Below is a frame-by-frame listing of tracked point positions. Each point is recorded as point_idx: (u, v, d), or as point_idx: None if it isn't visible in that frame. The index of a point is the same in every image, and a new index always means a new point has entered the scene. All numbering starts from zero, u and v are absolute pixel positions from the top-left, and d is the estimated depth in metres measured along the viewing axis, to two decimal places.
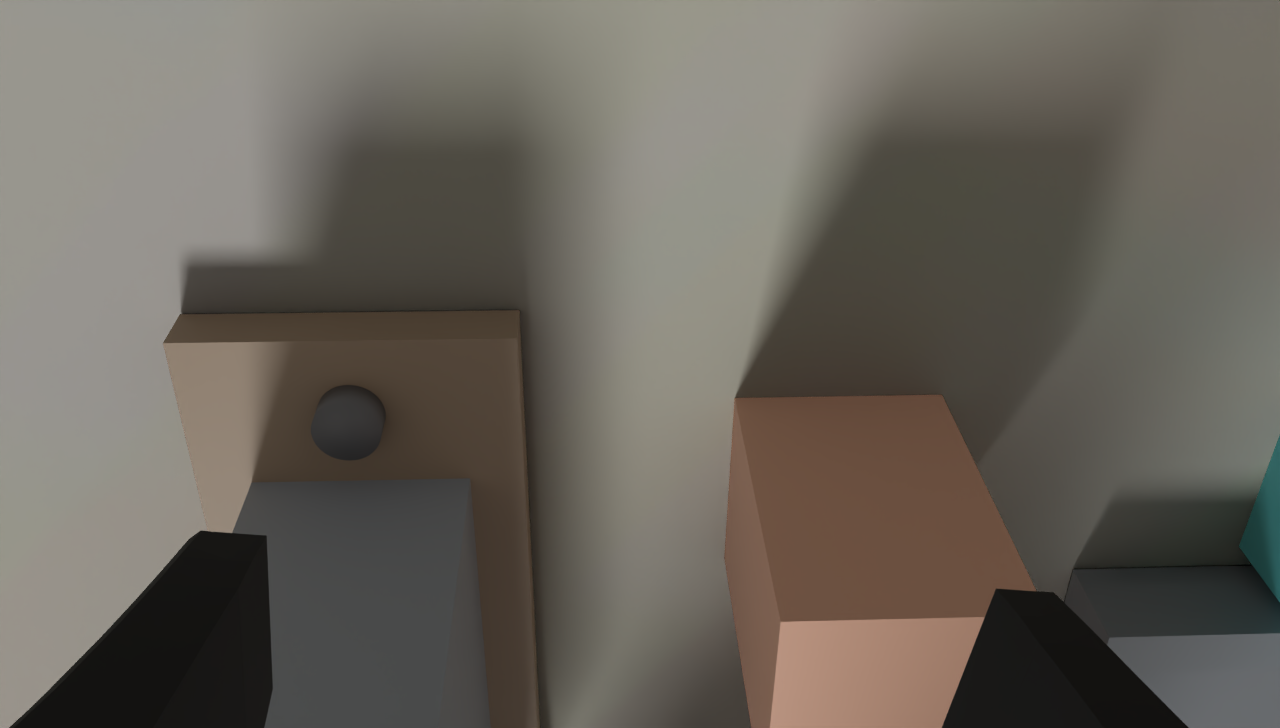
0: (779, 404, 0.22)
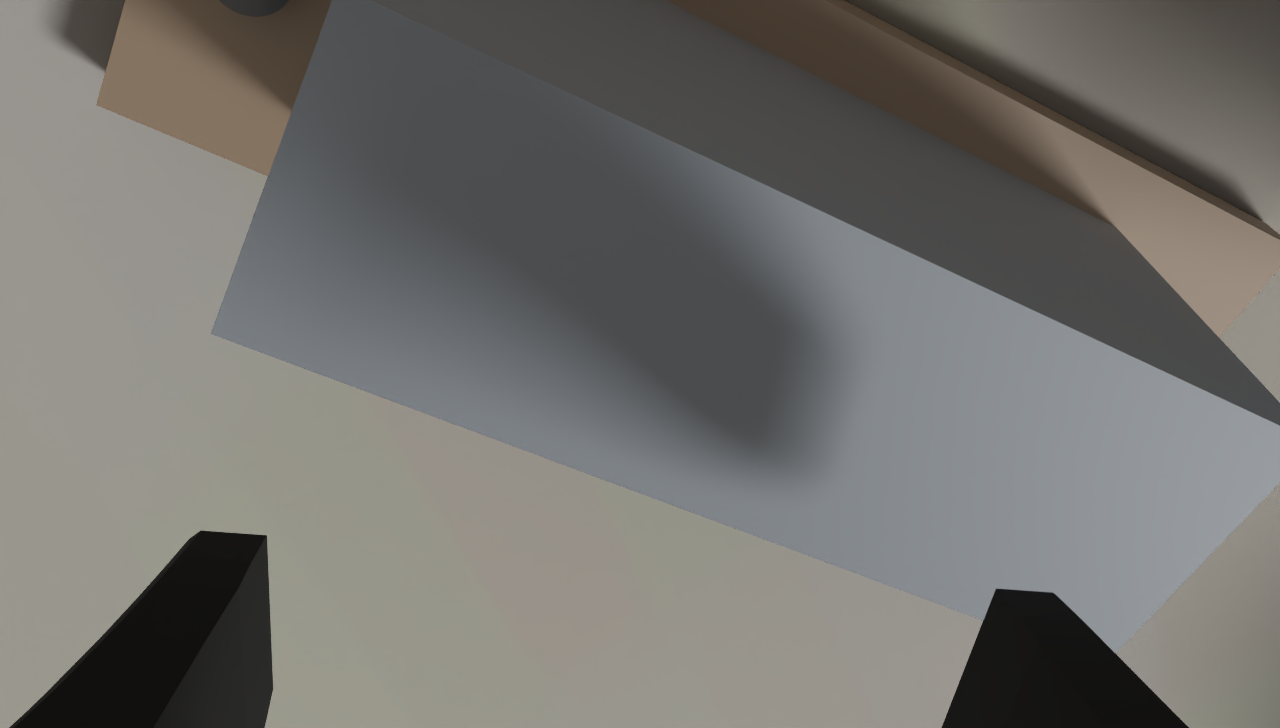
0: None
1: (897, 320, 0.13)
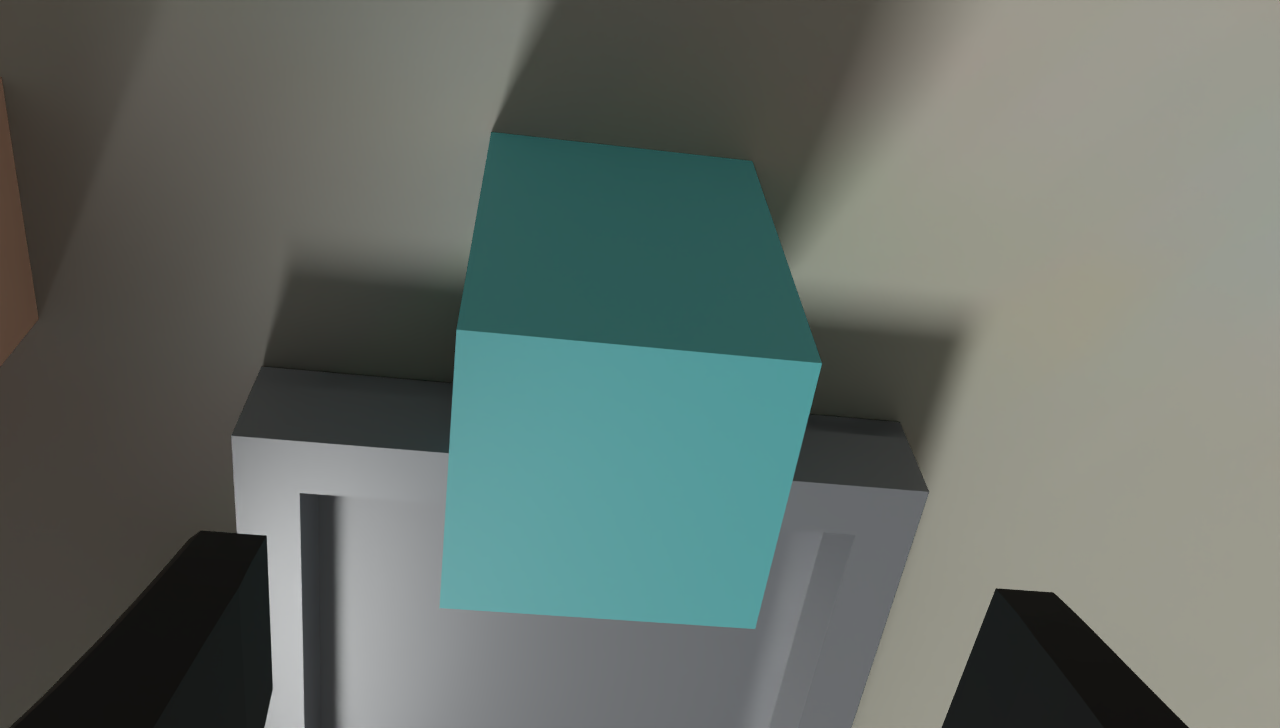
0: None
1: None
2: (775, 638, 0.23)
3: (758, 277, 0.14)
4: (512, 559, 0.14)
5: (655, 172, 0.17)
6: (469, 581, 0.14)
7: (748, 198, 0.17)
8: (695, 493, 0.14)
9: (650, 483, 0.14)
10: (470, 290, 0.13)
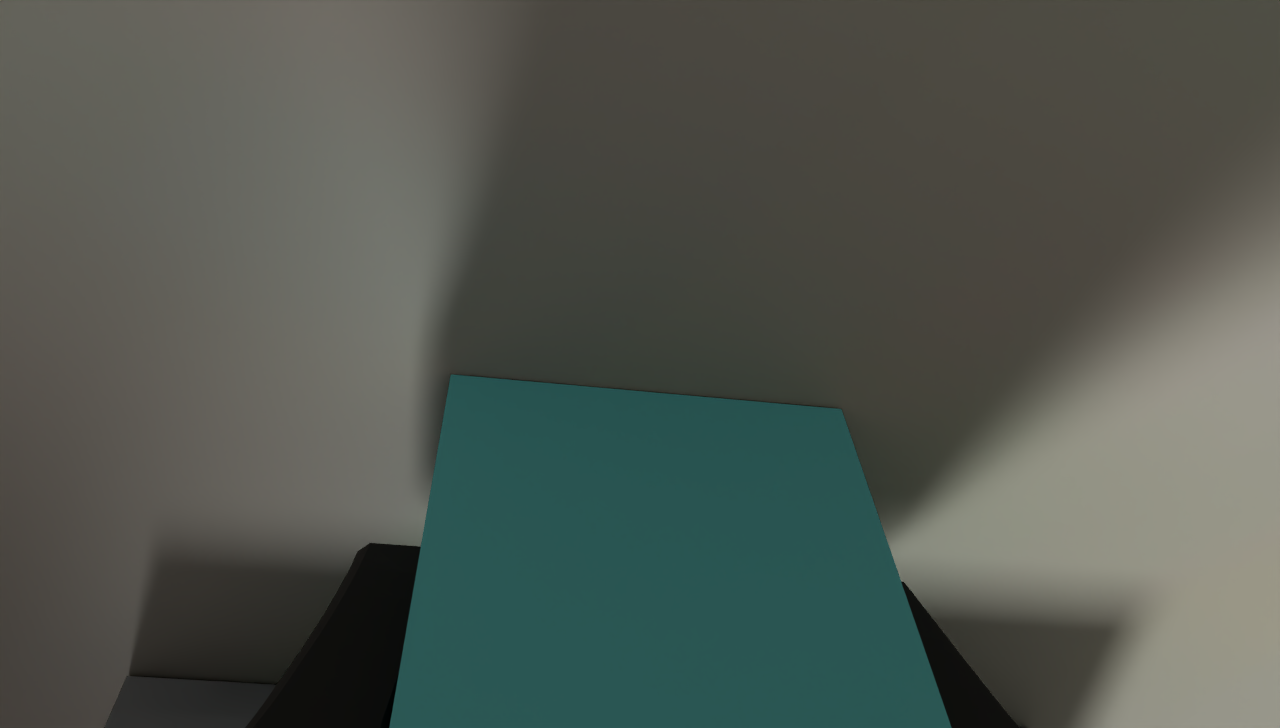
0: None
1: None
2: None
3: (887, 708, 0.09)
4: None
5: (700, 449, 0.11)
6: None
7: (846, 499, 0.11)
8: None
9: None
10: None
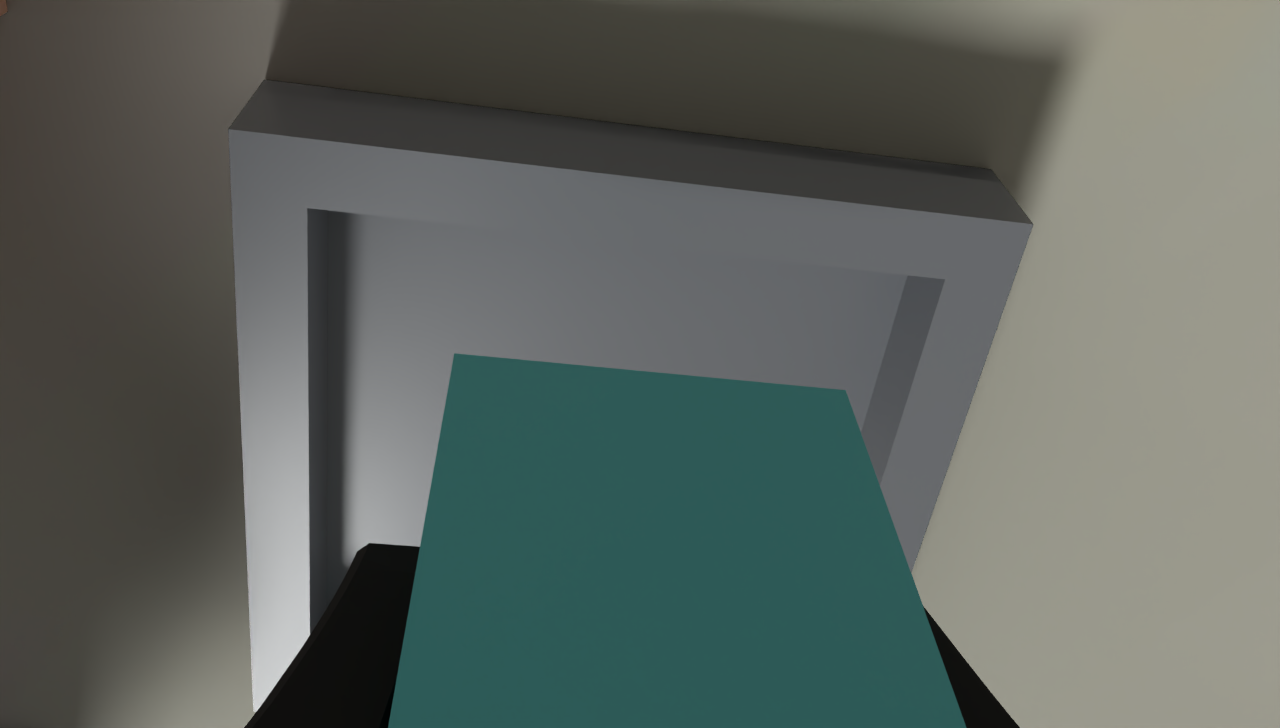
0: None
1: None
2: None
3: (894, 682, 0.09)
4: None
5: (704, 428, 0.11)
6: None
7: (851, 478, 0.11)
8: None
9: None
10: None
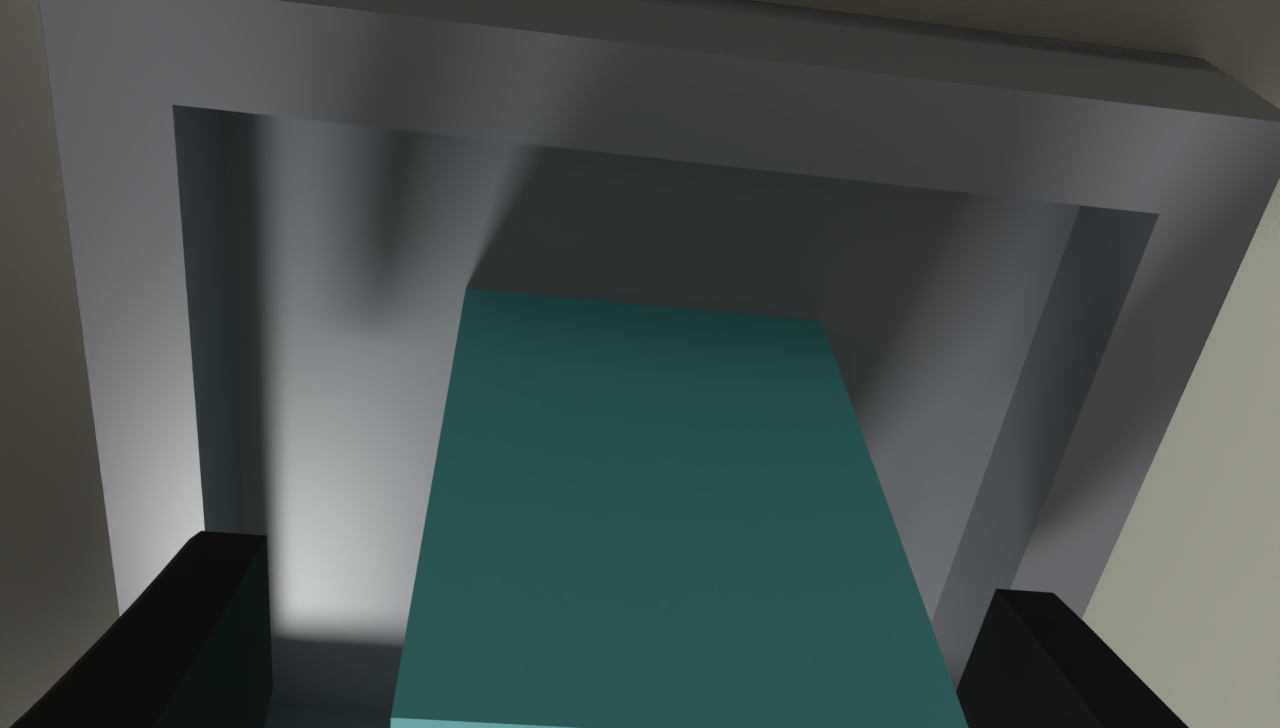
0: None
1: None
2: (963, 450, 0.14)
3: (856, 555, 0.10)
4: None
5: (692, 351, 0.12)
6: None
7: (824, 393, 0.12)
8: None
9: None
10: (419, 619, 0.08)
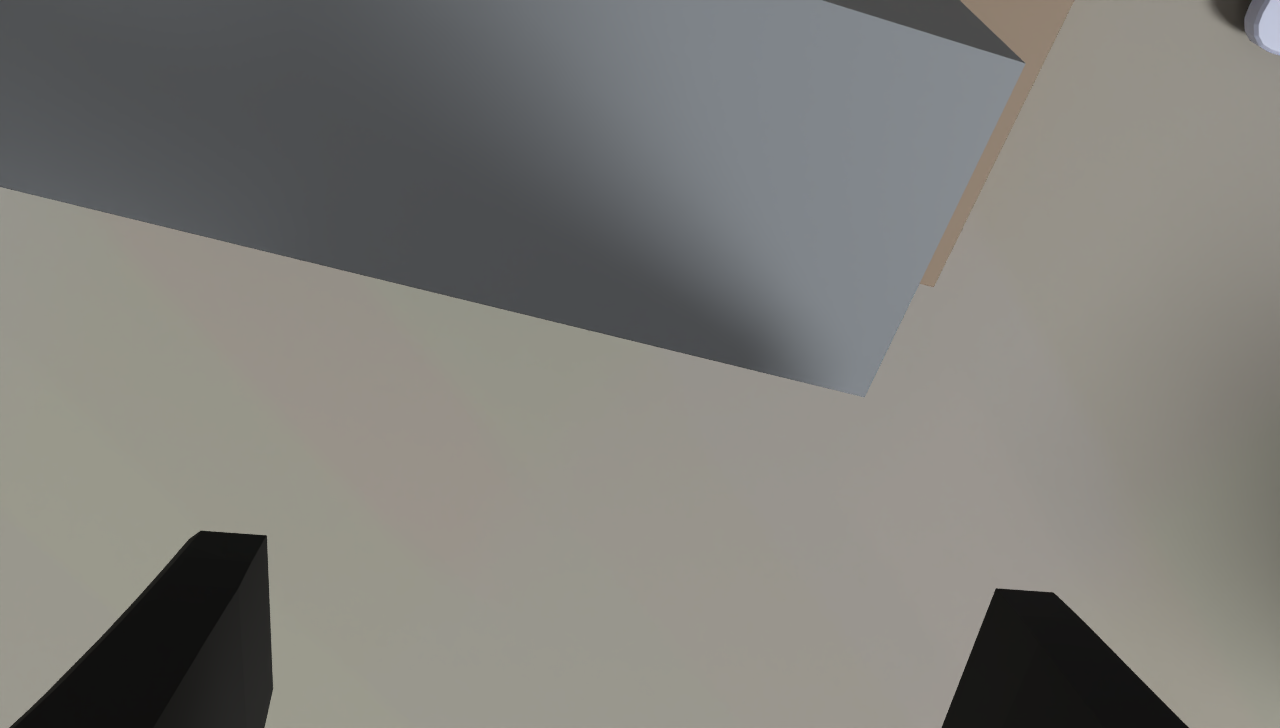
0: None
1: None
2: None
3: None
4: None
5: None
6: None
7: None
8: None
9: None
10: None
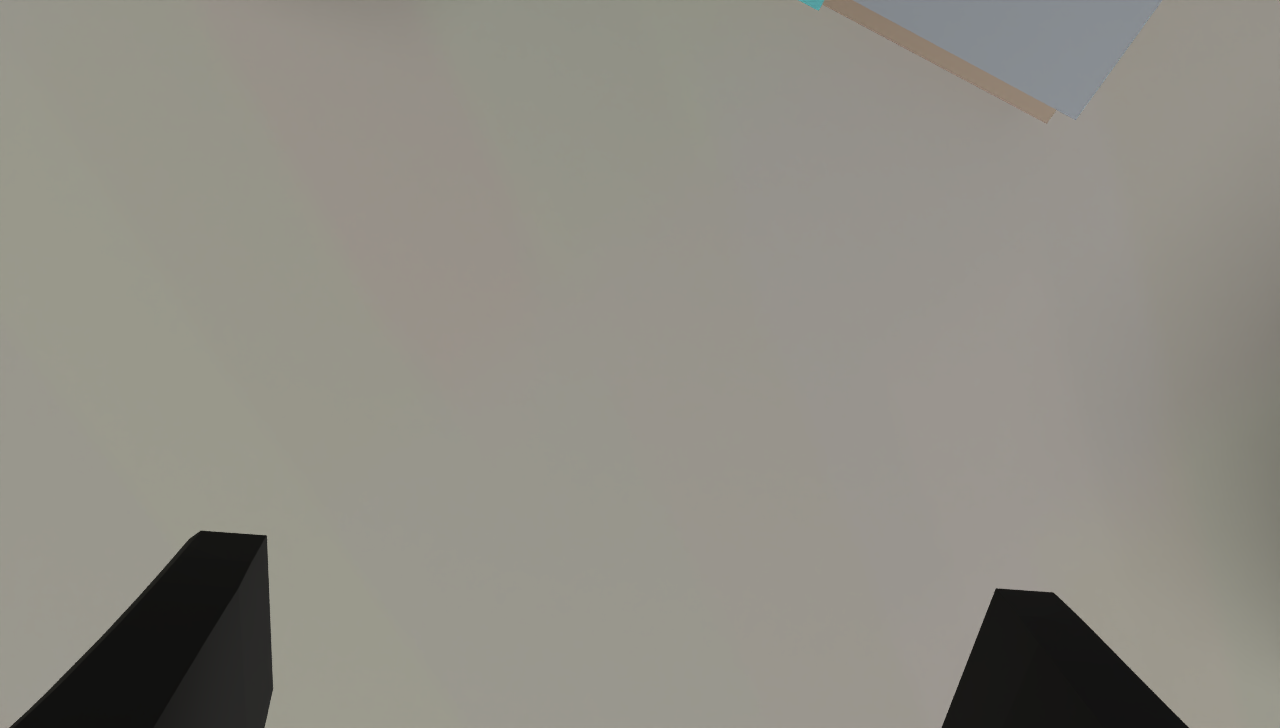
0: None
1: None
2: None
3: None
4: None
5: None
6: None
7: None
8: None
9: None
10: None
